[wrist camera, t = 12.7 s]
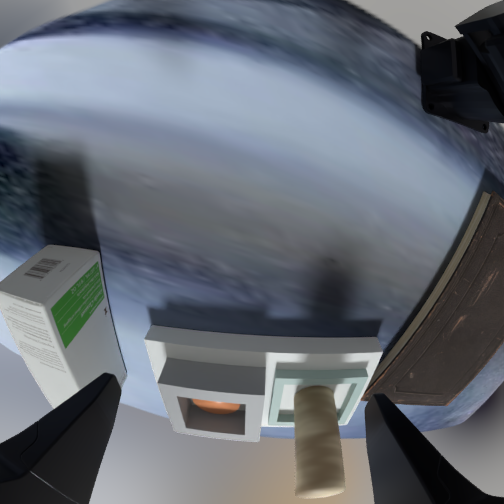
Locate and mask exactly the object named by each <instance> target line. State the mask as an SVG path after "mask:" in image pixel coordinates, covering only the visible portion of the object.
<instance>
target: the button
mask: <svg viewBox="0 0 504 504" xmlns="http://www.w3.org/2000/svg"><path fill="white" fill-rule="evenodd" d="M192 400H193V402H194V403H195V404H196V405H197V406H198V407H199V408H201V409H202V410H204V411H207V412H210V413H214V414H229V413H233V412H235V411H236V410H238V409H239V407H240V404H236V403H225V402H216V401H207V400H199V399H192Z"/></svg>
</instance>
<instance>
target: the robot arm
mask: <svg viewBox="0 0 504 504" xmlns="http://www.w3.org/2000/svg"><path fill="white" fill-rule="evenodd" d="M455 27H456V29H457V30H458V31H459V33H460V34H463V37H460V38H457V39H453V38H451V39H448V40H447V39H445V38H443V37H440V36H438V35H436V34H433V33H431V32H428V31H426V32H424V33H422V34H421V42H422V51H421V81H422V83H423V109H424V111H425V112H426V113H428V114H431V115H434V116H437V117H440V118H443V119H446V120H449V121H452V122H455V123H458V124H461V125H463V126H466V127H468V128H471V129H474V130H476V131H479V132H481V133H487V132H488V129H489V122H497V123H504V0H503V1H500V2H497V3H494V4H492V5H489V6H487V7H485V8H484V9H482V10H480V11H478V12H477V13H475V14H474V15H472V16H470V17H469V18H467V19H465V20H464V21H462V22H461V23H459V24H457V25H456V26H455ZM426 36H428V37H429V39H430V40H428V39H427V37H426ZM429 104H430V105H431V110H430V109H429V107H428V105H429ZM483 126H484V128H483ZM120 397H121V387H120V384H119V382H118V380H117V378H116V376H115V375H114V374H111V373H107V372H105V373H103V374H101V375H100V376H99V377H97V378H96V379H94V380H93V381H92V382H90V383H89V384H88V385H86V386H85V387H83V388H82V389H81V390H79V391H78V392H77V393H75V394H74V395H73V396H71V397H70V398H68V399H67V400H66V401H64V402H63V403H62V404H60V405H59V406H57V407H56V408H55V409H53V410H52V411H50V412H49V413H48V414H46V415H45V416H44V417H42V418H41V419H40V420H39V421H37V422H35V423H34V424H32V425H31V426H29V427H28V428H27V429H25V430H24V431H22V432H20V433H19V434H17V435H15V436H14V437H12V438H10V439H8V440H6V441H4V442H2V443H0V504H89V501H90V498H91V494H92V491H93V487H94V484H95V481H96V477H97V474H98V471H99V468H100V465H101V462H102V459H103V455H104V452H105V450H106V447H107V444H108V441H109V438H110V435H111V432H112V429H113V426H114V422H115V418H116V413H117V409H118V405H119V401H120ZM365 426H366V443H367V453H368V459H369V465H370V472H371V479H372V486H373V493H374V502H375V504H504V497H496V496H491V495H488V494H486V493H484V492H482V491H481V490H480V489H479V488H477V487H476V486H475V485H474V484H472V483H471V482H470V481H469V480H467V479H466V478H465V477H464V476H463V475H462V474H460V473H459V472H458V471H457V470H456V469H455V468H454V467H453V466H452V465H451V464H450V463H449V462H448V461H447V460H446V459H445V458H444V457H443V456H441V454H440V453H439V452H438V450H436V448H435V447H434V446H433V445H432V444H431V443H430V442H429V441H428V440H427V439H426V438H425V437H424V435H423V434H422V433H421V432H420V431H419V430H418V429H417V428H416V427H415V426H414V425H413V424H412V422H411V421H410V420H409V419H408V418H407V417H406V416H405V415H404V414H403V413H402V412H401V411H400V410H399V409H398V407H397V406H396V405H395V404H394V403H393V402H392V401H391V400H390V399H389V398H388V397H387V396H386V395H385V394H384V393H376V394H373V395H372V396H371V398H370V399H369V401H368V403H367V405H366V407H365Z"/></svg>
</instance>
